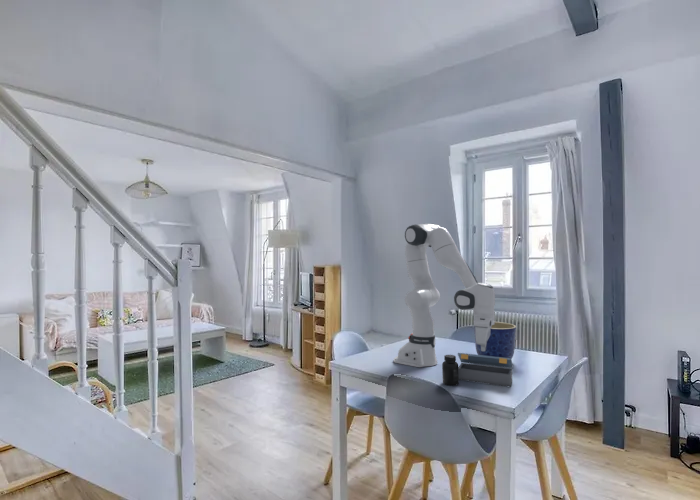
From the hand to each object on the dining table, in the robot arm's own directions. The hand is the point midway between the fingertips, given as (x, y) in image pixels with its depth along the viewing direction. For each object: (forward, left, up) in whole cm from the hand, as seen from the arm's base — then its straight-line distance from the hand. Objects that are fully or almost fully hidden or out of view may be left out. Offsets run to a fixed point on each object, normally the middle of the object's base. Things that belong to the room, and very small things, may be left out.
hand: (483, 350), depth 174 cm
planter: (+1, +33, -13) cm, 36 cm away
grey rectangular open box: (0, 0, -13) cm, 13 cm away
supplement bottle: (-12, -11, -13) cm, 21 cm away
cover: (0, 0, -6) cm, 6 cm away
